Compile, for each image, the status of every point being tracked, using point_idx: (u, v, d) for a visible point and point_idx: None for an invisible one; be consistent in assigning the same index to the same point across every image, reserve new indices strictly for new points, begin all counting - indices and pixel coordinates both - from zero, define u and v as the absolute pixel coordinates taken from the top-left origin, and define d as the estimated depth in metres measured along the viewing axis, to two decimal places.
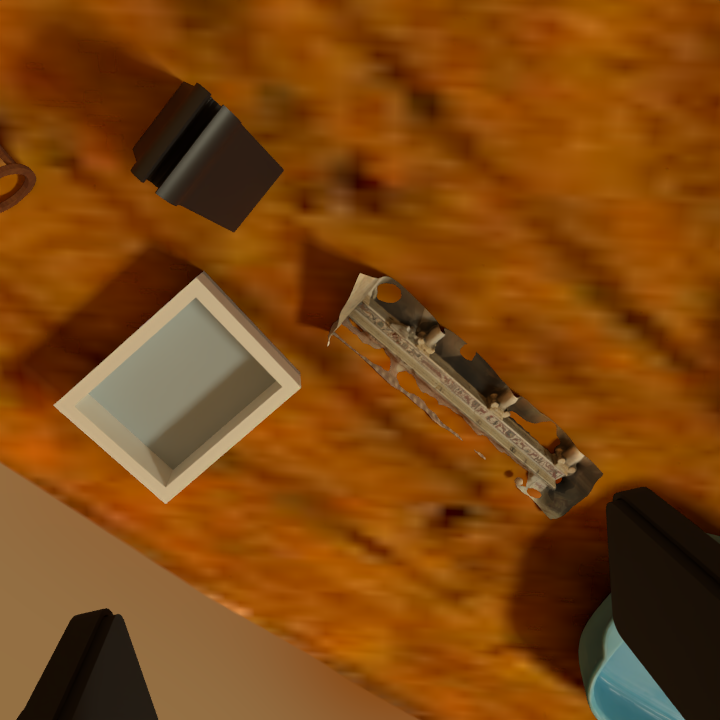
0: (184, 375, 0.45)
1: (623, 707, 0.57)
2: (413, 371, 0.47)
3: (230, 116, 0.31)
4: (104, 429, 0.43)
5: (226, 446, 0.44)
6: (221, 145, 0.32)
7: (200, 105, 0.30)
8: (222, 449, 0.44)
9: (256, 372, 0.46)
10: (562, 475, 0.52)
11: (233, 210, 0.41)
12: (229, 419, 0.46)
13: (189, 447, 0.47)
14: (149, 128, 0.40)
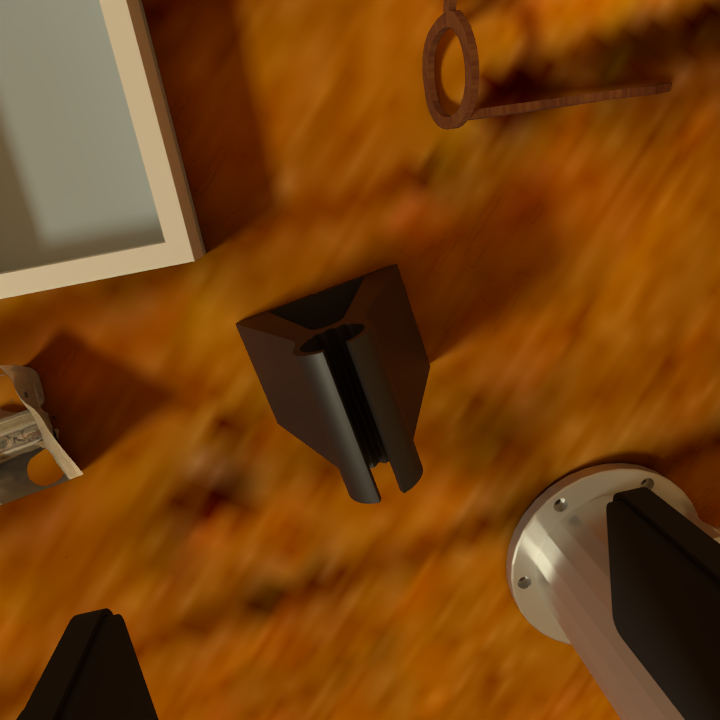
0: (58, 130, 0.26)
1: None
2: None
3: (362, 498, 0.21)
4: None
5: None
6: (335, 459, 0.21)
7: (395, 473, 0.20)
8: None
9: (10, 240, 0.27)
10: None
11: (258, 353, 0.28)
12: None
13: None
14: (406, 301, 0.30)
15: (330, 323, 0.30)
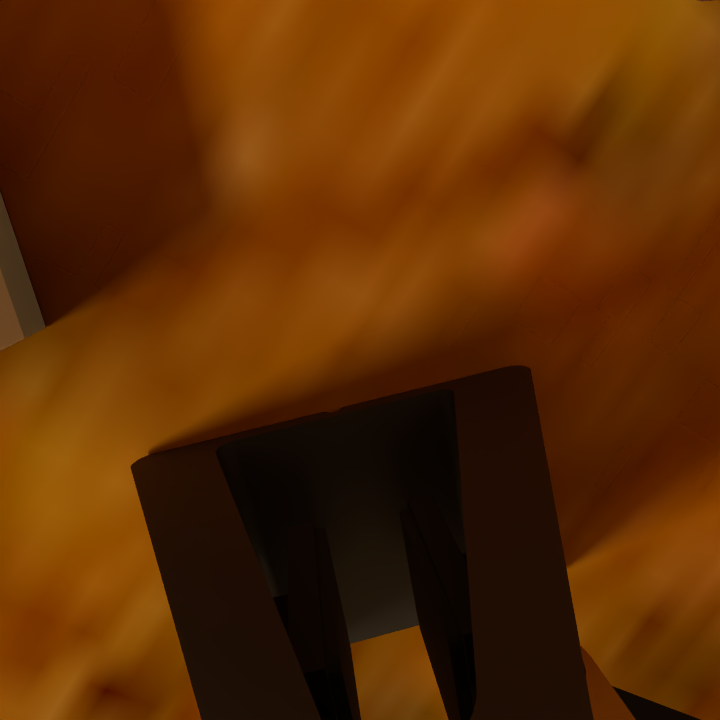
0: None
1: None
2: None
3: None
4: None
5: None
6: None
7: None
8: None
9: None
10: None
11: None
12: None
13: None
14: None
15: (357, 483, 0.13)
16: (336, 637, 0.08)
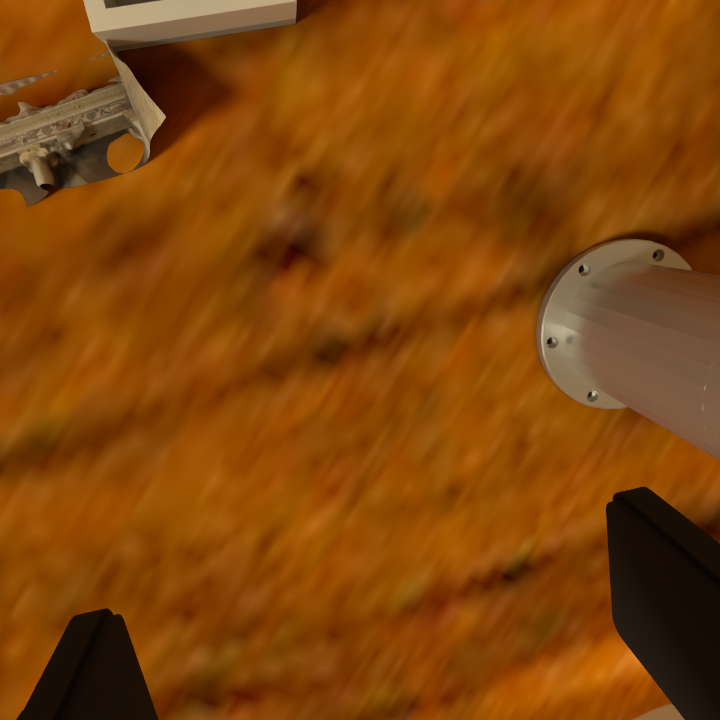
0: None
1: None
2: (5, 122, 0.34)
3: None
4: None
5: None
6: None
7: None
8: None
9: None
10: None
11: None
12: None
13: None
14: None
15: None
16: None
